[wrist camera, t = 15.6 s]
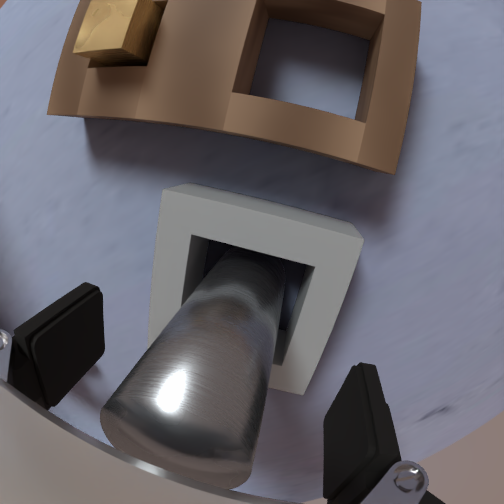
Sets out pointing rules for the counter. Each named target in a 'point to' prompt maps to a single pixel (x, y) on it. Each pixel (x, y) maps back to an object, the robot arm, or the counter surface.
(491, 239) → the counter surface
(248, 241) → the holder
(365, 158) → the socket block
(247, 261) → the grey metal rounded cylinder
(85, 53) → the tan square peg
